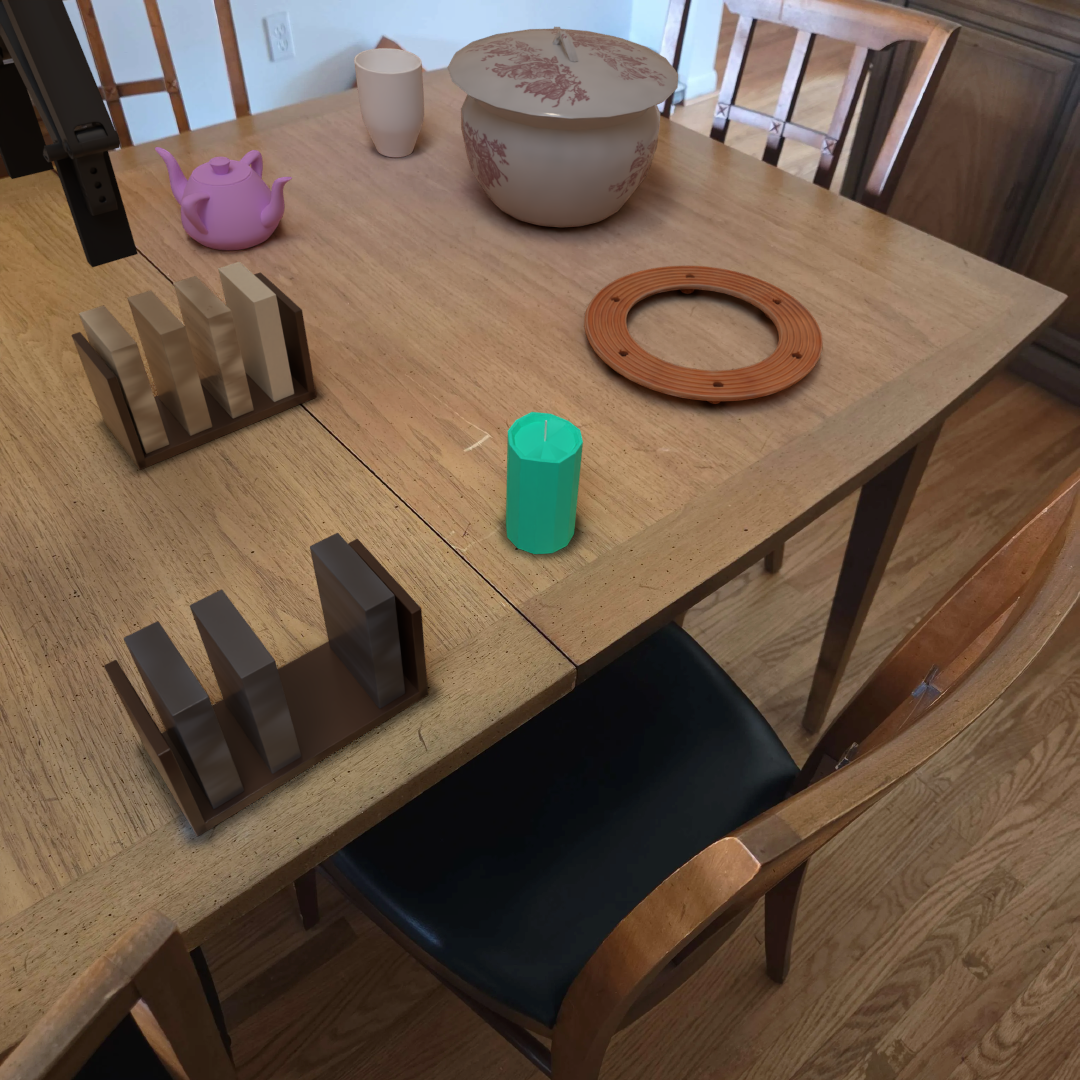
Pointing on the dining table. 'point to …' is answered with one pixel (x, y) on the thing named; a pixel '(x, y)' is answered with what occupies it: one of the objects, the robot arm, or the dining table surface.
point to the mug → (391, 98)
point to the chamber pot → (560, 120)
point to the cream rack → (183, 371)
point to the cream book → (257, 330)
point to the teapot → (227, 201)
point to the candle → (542, 482)
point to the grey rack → (275, 687)
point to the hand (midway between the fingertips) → (69, 213)
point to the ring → (757, 380)
